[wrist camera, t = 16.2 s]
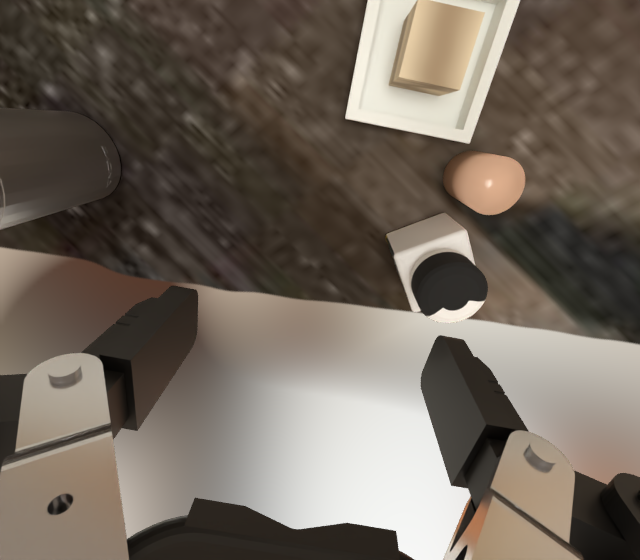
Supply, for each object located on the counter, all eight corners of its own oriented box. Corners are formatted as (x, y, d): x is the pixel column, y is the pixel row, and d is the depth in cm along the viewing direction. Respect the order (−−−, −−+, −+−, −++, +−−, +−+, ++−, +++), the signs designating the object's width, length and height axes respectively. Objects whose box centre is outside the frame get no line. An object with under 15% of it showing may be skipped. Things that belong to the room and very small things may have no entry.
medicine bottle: (384, 233, 38) (401, 276, 27) (445, 210, 37) (489, 246, 26) (401, 284, 41) (424, 342, 30) (459, 265, 39) (505, 318, 29)
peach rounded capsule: (436, 194, 36) (457, 209, 30) (452, 146, 34) (478, 151, 28) (480, 203, 36) (510, 219, 30) (499, 155, 34) (535, 162, 28)
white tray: (344, 118, 33) (345, 118, 31) (374, -35, 28) (377, -52, 25) (458, 142, 34) (469, 143, 31) (508, -5, 28) (526, -19, 26)
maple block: (388, 85, 31) (398, 76, 26) (403, 21, 29) (418, -3, 24) (439, 96, 31) (459, 90, 26) (458, 33, 29) (485, 12, 24)
